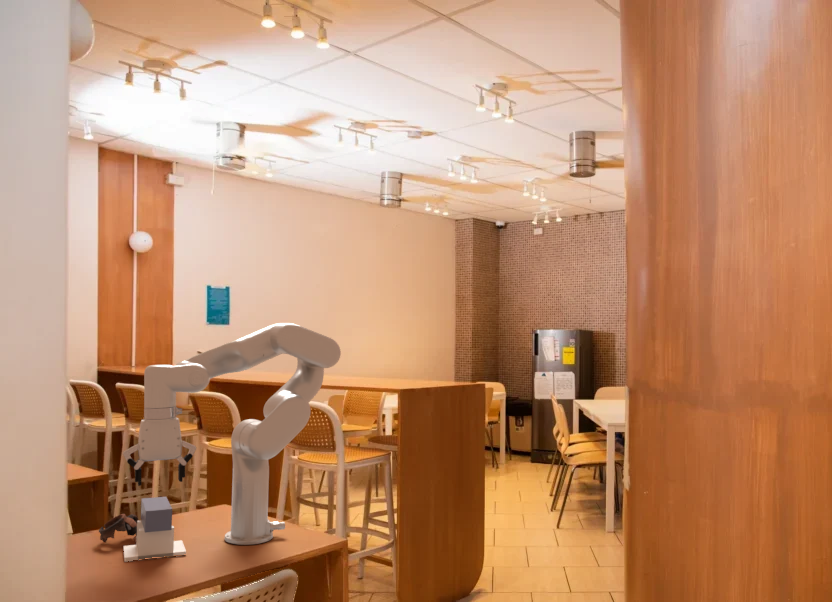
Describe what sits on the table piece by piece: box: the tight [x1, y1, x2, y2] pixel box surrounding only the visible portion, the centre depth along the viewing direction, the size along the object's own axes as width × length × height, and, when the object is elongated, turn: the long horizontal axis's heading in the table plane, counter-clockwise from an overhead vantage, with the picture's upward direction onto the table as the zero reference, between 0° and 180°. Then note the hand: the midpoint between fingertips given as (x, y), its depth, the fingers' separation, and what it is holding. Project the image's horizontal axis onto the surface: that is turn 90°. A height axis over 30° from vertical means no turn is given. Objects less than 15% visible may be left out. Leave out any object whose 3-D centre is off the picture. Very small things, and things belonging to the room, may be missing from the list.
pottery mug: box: [98, 513, 140, 544], centre depth 182 cm, size 12×9×8 cm
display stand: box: [123, 519, 187, 563], centre depth 173 cm, size 14×10×7 cm
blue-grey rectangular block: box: [140, 496, 173, 532], centre depth 174 cm, size 6×14×5 cm, turn 25°
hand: (160, 482), depth 174 cm, fingers open, 9 cm apart
